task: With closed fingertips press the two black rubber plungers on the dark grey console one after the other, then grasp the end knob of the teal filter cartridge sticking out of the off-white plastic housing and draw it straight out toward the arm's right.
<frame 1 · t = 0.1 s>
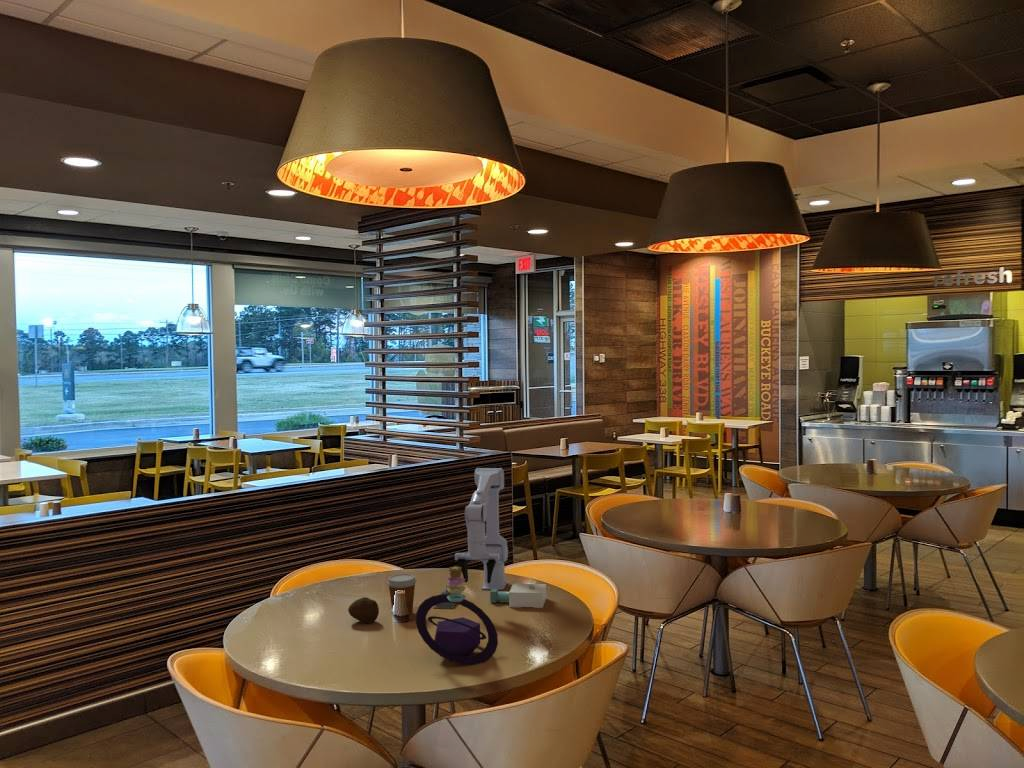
hand: (477, 582, 259), 10 cm above the table, fingers open, 7 cm apart
plunger left: (450, 590, 275), point 3 cm above the table, slide at 0.0 cm
plunger right: (445, 596, 268), point 3 cm above the table, slide at 0.0 cm
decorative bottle: (457, 655, 224), on the table
console: (448, 601, 272), on the table
disposable coffee cup: (402, 614, 260), on the table
cartridge: (512, 596, 269), point 2 cm above the table, slide at 0.0 cm
housing: (526, 602, 268), on the table
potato: (364, 622, 253), on the table
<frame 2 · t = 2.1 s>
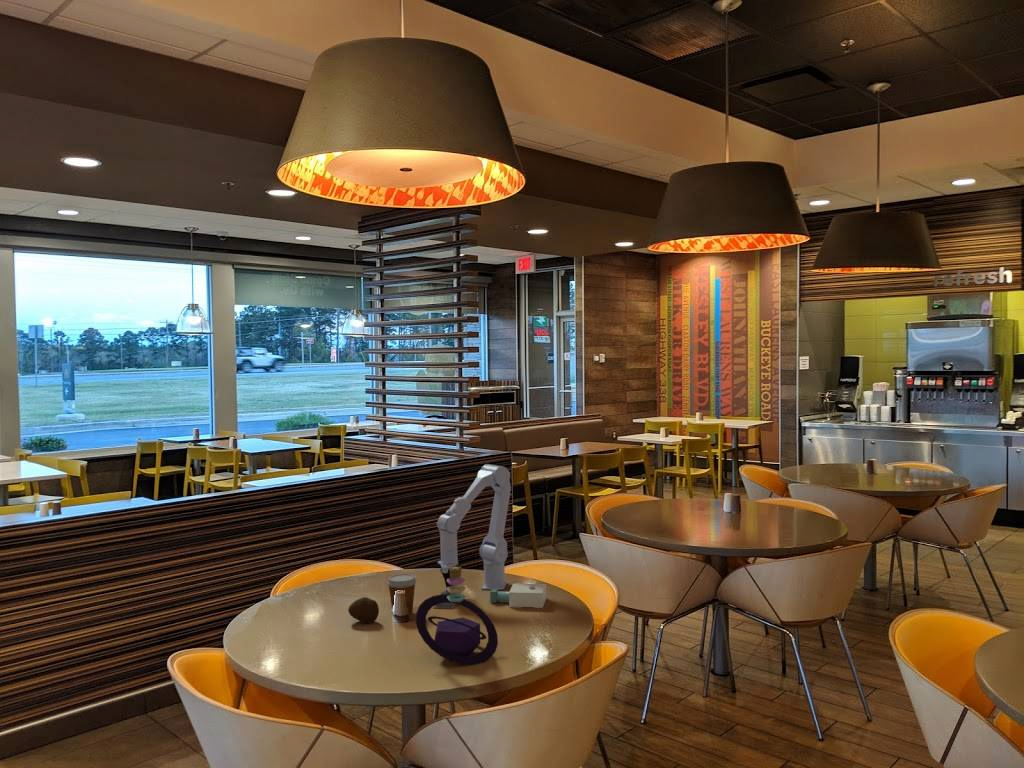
hand: (449, 587, 275), 4 cm above the table, fingers closed, pressing on plunger left
plunger left: (450, 591, 275), point 2 cm above the table, slide at 0.4 cm, touching gripper
everything else where it was.
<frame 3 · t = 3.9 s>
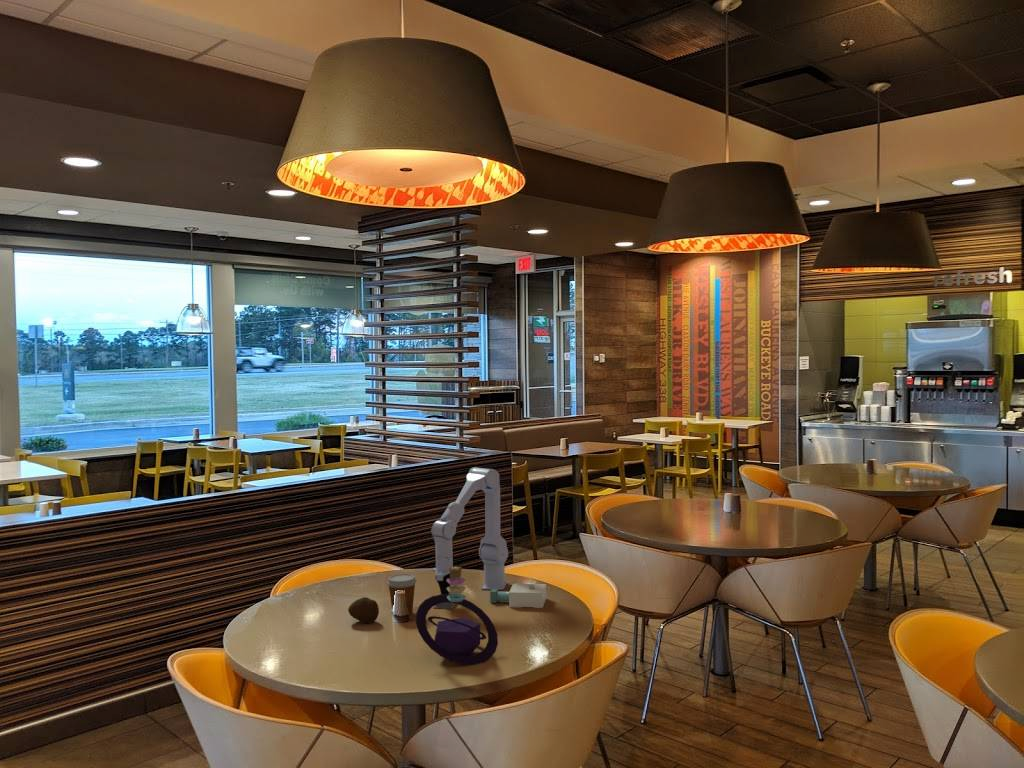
hand: (445, 595, 268), 3 cm above the table, fingers closed, pressing on plunger right
plunger left: (450, 592, 275), point 2 cm above the table, slide at 0.9 cm
plunger right: (445, 599, 268), point 2 cm above the table, slide at 0.9 cm, touching gripper
everything else where it was.
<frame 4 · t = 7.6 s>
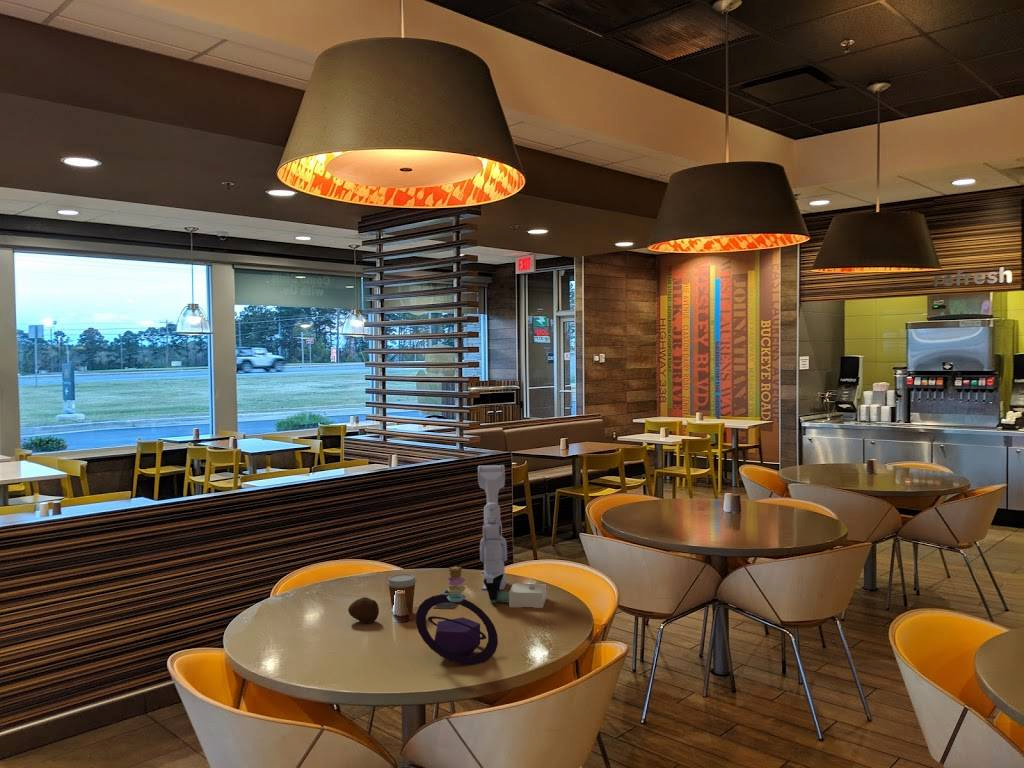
hand: (494, 597, 270), 1 cm above the table, fingers closed on cartridge, 3 cm apart
plunger right: (445, 599, 268), point 2 cm above the table, slide at 0.9 cm
cartridge: (512, 596, 269), point 2 cm above the table, slide at 0.0 cm, touching gripper
everything else where it was.
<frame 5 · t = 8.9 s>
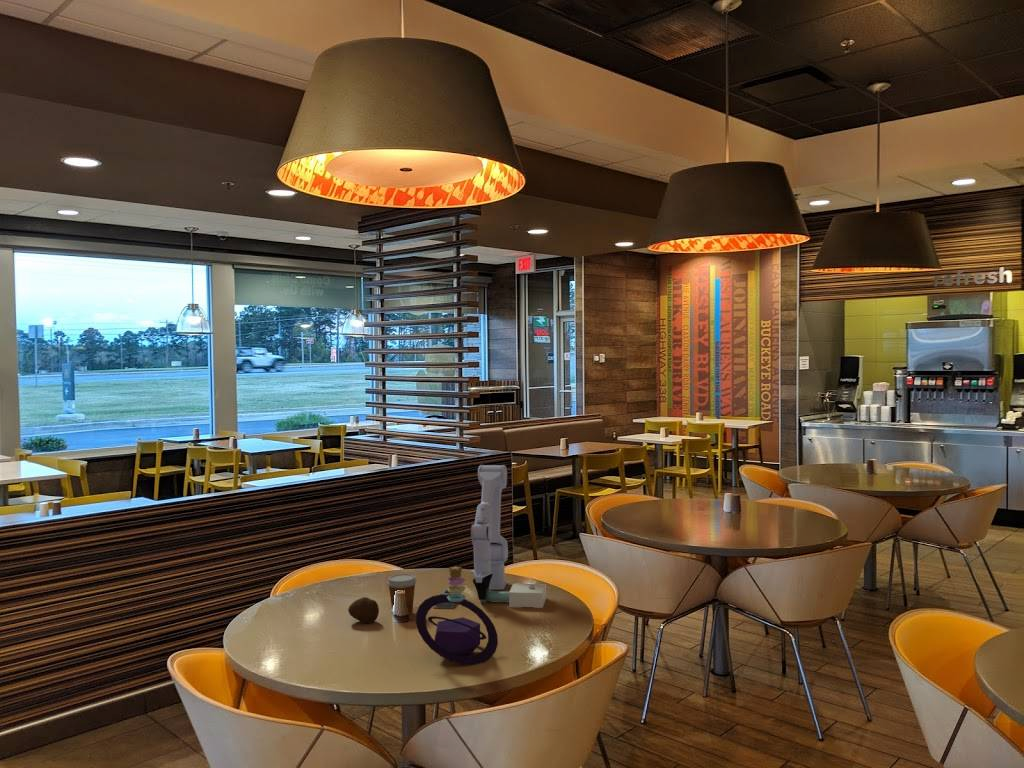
hand: (483, 597, 270), 1 cm above the table, fingers closed on cartridge, 3 cm apart
cartridge: (502, 595, 269), point 2 cm above the table, slide at 3.5 cm, touching gripper
everything else where it was.
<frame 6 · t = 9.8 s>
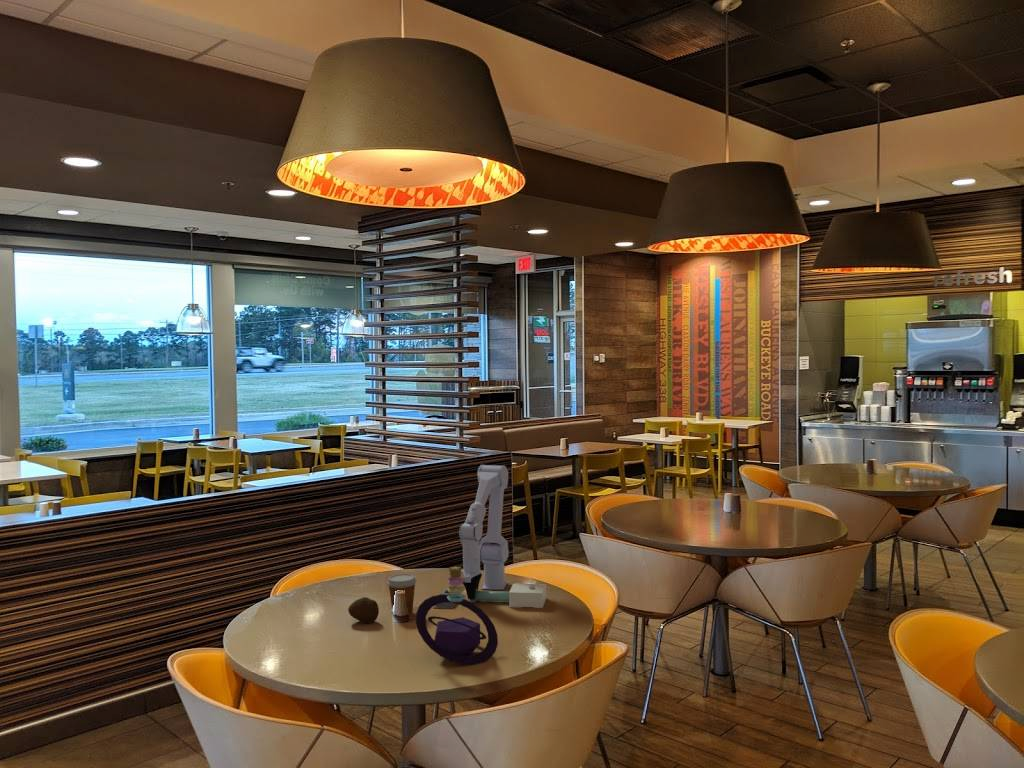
hand: (472, 597, 271), 1 cm above the table, fingers closed on cartridge, 3 cm apart
cartridge: (492, 595, 270), point 2 cm above the table, slide at 7.1 cm, touching gripper
everything else where it was.
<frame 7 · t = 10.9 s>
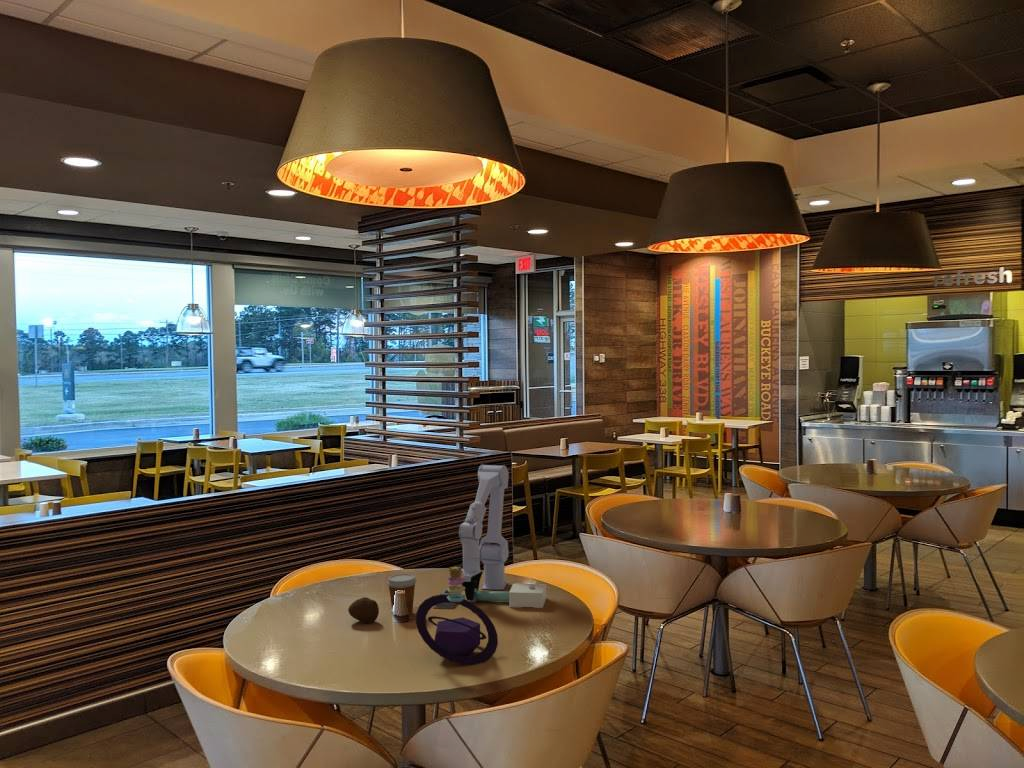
hand: (472, 596, 271), 2 cm above the table, fingers open, 7 cm apart
cartridge: (492, 595, 270), point 2 cm above the table, slide at 7.1 cm
everything else where it was.
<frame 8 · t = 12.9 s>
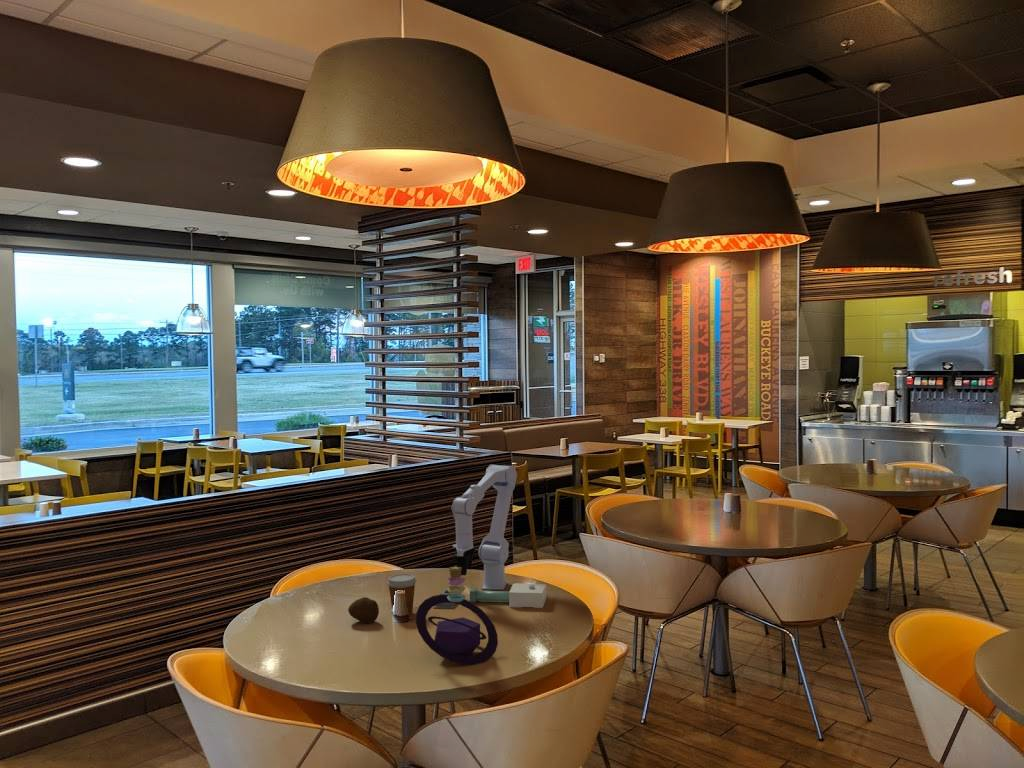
hand: (465, 571, 272), 10 cm above the table, fingers open, 7 cm apart
nothing on the table moved.
at the end: cartridge slide at 7.1 cm; the gripper is holding nothing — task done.
